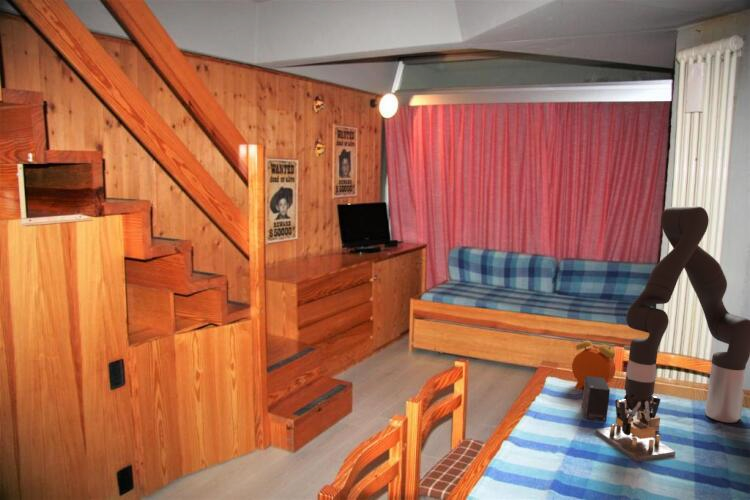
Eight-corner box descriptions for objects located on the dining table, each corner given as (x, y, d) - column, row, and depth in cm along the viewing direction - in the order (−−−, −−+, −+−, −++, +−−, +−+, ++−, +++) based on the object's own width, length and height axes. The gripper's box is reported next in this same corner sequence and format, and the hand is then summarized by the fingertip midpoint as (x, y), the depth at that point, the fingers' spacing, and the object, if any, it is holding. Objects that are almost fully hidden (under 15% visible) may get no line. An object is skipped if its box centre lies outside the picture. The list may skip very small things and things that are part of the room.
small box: (607, 422, 183) (611, 389, 182) (585, 419, 185) (588, 387, 183) (602, 407, 194) (605, 377, 192) (581, 405, 195) (584, 375, 193)
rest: (644, 421, 184) (645, 409, 183) (658, 430, 178) (660, 418, 178) (636, 422, 183) (637, 410, 183) (650, 431, 178) (652, 419, 177)
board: (629, 421, 175) (630, 413, 174) (654, 437, 165) (655, 428, 165) (615, 423, 173) (616, 414, 173) (639, 439, 164) (640, 430, 163)
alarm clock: (613, 392, 207) (619, 337, 203) (607, 397, 202) (612, 340, 199) (576, 381, 215) (581, 328, 212) (569, 386, 211) (574, 332, 207)
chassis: (631, 427, 180) (632, 414, 179) (674, 455, 164) (676, 441, 163) (595, 432, 176) (596, 419, 175) (636, 461, 160) (637, 447, 159)
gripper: (651, 369, 172) (645, 424, 175) (610, 373, 168) (604, 429, 171) (671, 379, 165) (664, 436, 168) (628, 383, 161) (622, 442, 164)
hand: (634, 432), depth 169 cm, fingers closed on board, 5 cm apart
